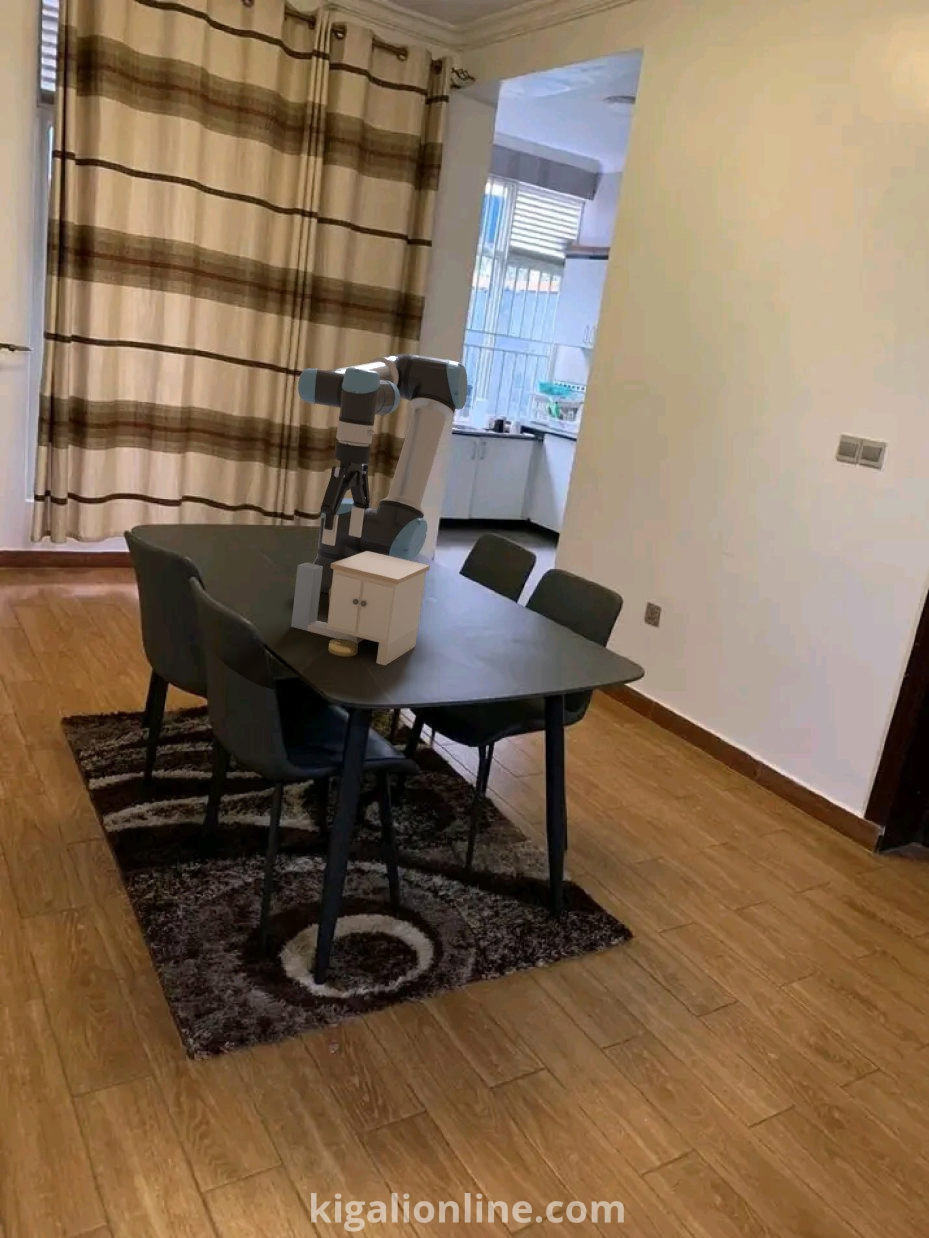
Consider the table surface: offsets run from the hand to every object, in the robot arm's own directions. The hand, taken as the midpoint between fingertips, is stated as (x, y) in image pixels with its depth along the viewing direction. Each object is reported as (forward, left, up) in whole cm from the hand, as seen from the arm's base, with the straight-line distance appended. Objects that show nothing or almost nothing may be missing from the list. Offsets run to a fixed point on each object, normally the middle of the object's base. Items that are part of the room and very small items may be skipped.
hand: (341, 540), depth 205 cm
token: (+9, -13, -20) cm, 26 cm away
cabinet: (+13, -7, -20) cm, 25 cm away
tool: (+2, -5, -20) cm, 21 cm away
